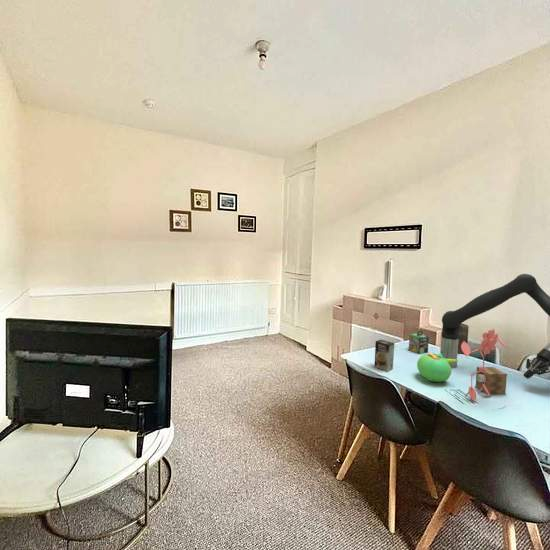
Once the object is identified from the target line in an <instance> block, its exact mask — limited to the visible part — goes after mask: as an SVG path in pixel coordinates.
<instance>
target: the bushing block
mask: <svg viewBox="0 0 550 550" xmlns="http://www.w3.org/2000/svg"><path fill="white" fill-rule="evenodd" d="M479 367H480V366H476V372H478V371H480V370H479ZM484 367H485V368H486V371H485V375H486V382H485V386H486V387H487V389H488V391H489V394H490V396H491V395H494V396H496V395H500V396H501V395H506V390H507V380H508V374H507V373H506V372H504V371H502V370H500V369H498V368H497V367H494V366H484ZM476 372H475V373H476ZM478 374H484V372H481V371H480V372H478V373H476V374H475V377H476V378H475V385H474V386H475V387H476V388H477V389H479V390H480V389H481V388H482V387H483V384H484V382H478V380H477V375H478ZM480 392H483V393H484V394H485V395H488V394H487V392H486V391H485V389H484V387H483V389H482V390H481V391H480ZM488 396H489V395H488Z"/></svg>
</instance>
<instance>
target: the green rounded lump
mask: <svg viewBox="0 0 550 550" xmlns="http://www.w3.org/2000/svg"><path fill="white" fill-rule="evenodd" d="M458 361H459V360H458V359H457V360H456V359H446V358H443V356H442V354H441V353H440V352H439V353H438V354H436V353H431V352H428V353H424V354H422V355H420V357H419V358H418V359H417V362H416V366H417V370H418V373H419V374H420V375H421V376H422V377H423V378H424V379H427V380H429V381H432V382H435V383H441V382H445V381H446V380H448V379H449V378H450V377H451V375H452V367H451V366H450V363H454V362H457V363H458Z"/></svg>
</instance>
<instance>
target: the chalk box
mask: <svg viewBox="0 0 550 550" xmlns="http://www.w3.org/2000/svg"><path fill="white" fill-rule="evenodd" d="M423 332H424V331H423V330H418V331H417V333H410V334H409V337H408V351H410V352H413V353H415V354H418V355H420V354H428V353H429V341H430V340H429V339H430V336H429V335H425V334H423Z"/></svg>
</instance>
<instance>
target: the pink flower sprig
mask: <svg viewBox="0 0 550 550" xmlns="http://www.w3.org/2000/svg"><path fill="white" fill-rule="evenodd" d="M495 333H496V332H495V329H494V328H492V329H489V330H488V331H487V332H483V333H482V338H483V339H482V341H481V342H480V345H479V348H477V349H474V350H472V351H471V346H470V345H469V344H467V343H466V342H465V341H463V343H462V345H461V349H462V351H463V353H462V354H464V355H465V356H466V357H469V356H470V354H473V353H475V352H476V351H479V353H480V354H481V357H482V365H481V366H478V367H479V370H480V371H481V372H484V384H483V387H484V389H485V391H486V392H487V394H488V397H491V395H490V394H489V391H488V389H487V387H486V386H485V371H486V368H485V367H486V366H485V356H486V355H490V353H491V351H495V350H496V348H497V347H496V344H497V343H498V342H499V343H500V344H501V345H502V346H503V347H504V348H508V347H507V346H508V345H506V344H505V343H504V341H503V340H502V339H501V338H500V337H499V333H496V334H495ZM481 351H483V353H482V352H481ZM480 371H478V372H480ZM478 372H477V371H476V372H474V373H472V374H471V375H470V376H471V377H470V378H471V379H470V380H471V381H470V383H471V384H470V385H471V386H469V387H468V391H467V392H466V393H465V395H464V397H467V396H468V395H469V397H470V399H471V400H472V401H473V402H474V403H475V402H476V401H477V394H480V393H481V392H482V391H481V390H482V389H483V387H482V388H481V389H479V390H478V392H476V389H475V388H474V387H473V375H476V373H478ZM487 394H486V395H487ZM456 398H457V400H459V399H458V397H456ZM504 402H506V400H505V399H504ZM504 408H505V406H503V407H502V408H499V410H500V409H504Z"/></svg>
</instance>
